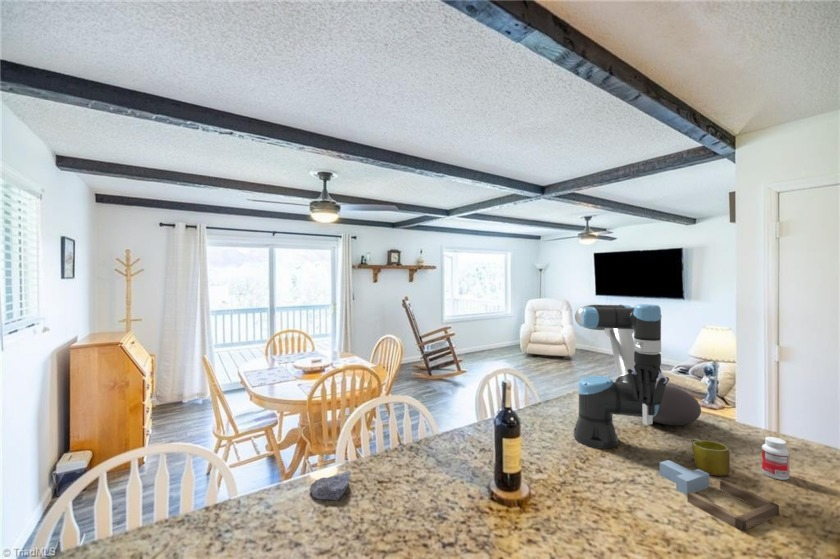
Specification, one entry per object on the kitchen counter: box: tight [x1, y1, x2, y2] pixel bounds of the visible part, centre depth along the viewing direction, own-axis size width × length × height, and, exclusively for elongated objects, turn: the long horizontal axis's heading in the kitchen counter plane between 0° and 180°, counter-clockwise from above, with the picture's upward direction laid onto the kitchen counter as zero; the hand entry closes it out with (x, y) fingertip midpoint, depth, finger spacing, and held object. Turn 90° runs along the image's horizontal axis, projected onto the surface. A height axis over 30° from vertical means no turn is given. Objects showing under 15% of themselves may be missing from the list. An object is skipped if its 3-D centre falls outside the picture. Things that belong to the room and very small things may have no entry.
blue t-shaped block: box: [659, 459, 710, 496], centre depth 110 cm, size 10×10×4 cm
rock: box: [309, 470, 351, 501], centre depth 107 cm, size 12×5×10 cm
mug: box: [690, 438, 731, 477], centre depth 118 cm, size 12×10×10 cm
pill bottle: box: [761, 436, 790, 481], centre depth 113 cm, size 6×6×11 cm
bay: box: [686, 479, 780, 532], centre depth 98 cm, size 13×16×2 cm
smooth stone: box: [653, 383, 702, 426], centre depth 155 cm, size 25×25×15 cm
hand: (647, 423), depth 120 cm, fingers closed
